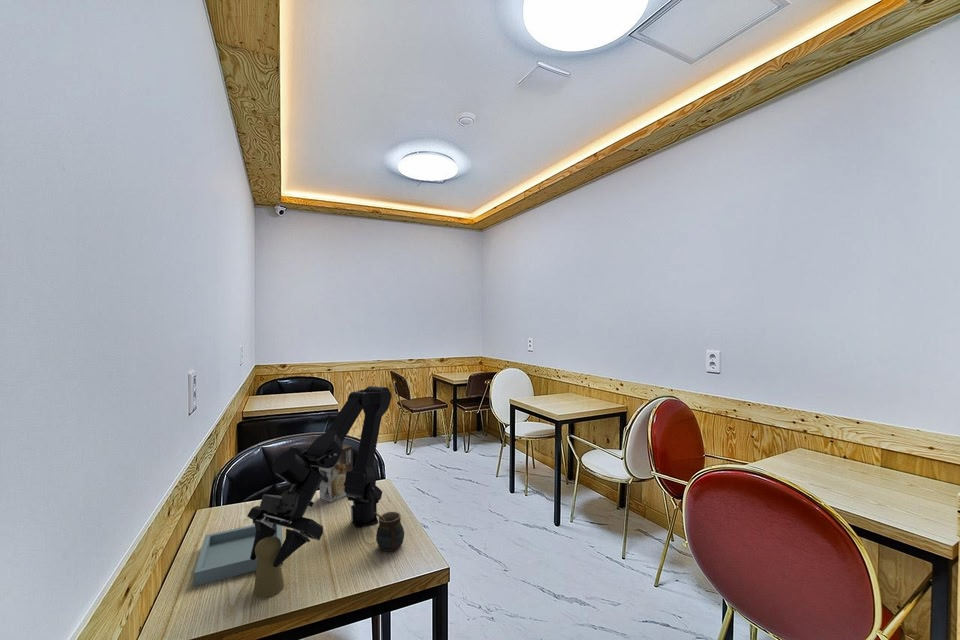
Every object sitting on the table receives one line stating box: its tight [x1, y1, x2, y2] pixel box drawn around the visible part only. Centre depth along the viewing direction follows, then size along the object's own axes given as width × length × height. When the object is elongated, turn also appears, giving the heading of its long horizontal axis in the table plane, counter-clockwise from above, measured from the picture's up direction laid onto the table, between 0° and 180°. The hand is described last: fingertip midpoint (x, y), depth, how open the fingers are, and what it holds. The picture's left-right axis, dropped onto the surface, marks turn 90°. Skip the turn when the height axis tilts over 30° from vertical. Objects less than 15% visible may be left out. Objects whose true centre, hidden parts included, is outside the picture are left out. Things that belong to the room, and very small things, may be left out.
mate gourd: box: [374, 511, 405, 552], centre depth 108 cm, size 7×8×10 cm
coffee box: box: [318, 443, 354, 503], centre depth 139 cm, size 9×6×16 cm
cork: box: [253, 537, 285, 600], centre depth 92 cm, size 6×6×11 cm
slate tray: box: [193, 524, 284, 587], centre depth 105 cm, size 18×18×3 cm
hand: (262, 563), depth 90 cm, fingers open, 7 cm apart
